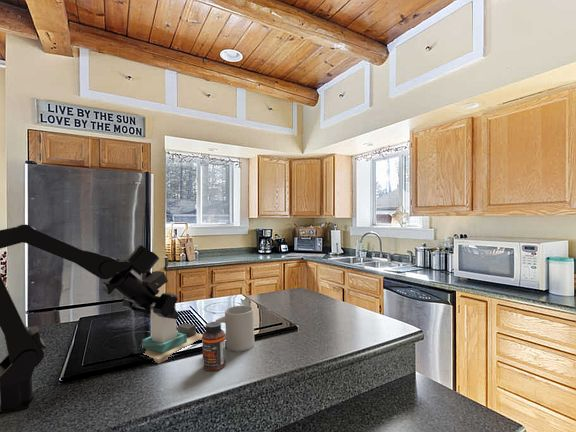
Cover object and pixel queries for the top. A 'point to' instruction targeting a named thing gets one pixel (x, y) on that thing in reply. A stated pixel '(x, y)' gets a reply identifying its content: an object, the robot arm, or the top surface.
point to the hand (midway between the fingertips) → (167, 315)
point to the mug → (238, 328)
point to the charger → (162, 328)
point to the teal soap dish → (171, 343)
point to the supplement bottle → (213, 347)
